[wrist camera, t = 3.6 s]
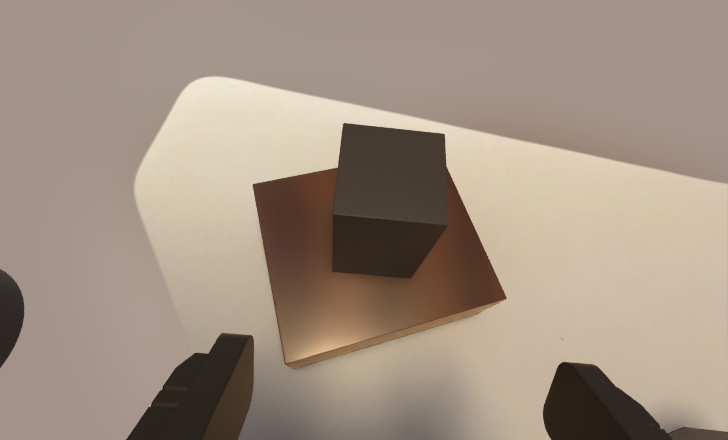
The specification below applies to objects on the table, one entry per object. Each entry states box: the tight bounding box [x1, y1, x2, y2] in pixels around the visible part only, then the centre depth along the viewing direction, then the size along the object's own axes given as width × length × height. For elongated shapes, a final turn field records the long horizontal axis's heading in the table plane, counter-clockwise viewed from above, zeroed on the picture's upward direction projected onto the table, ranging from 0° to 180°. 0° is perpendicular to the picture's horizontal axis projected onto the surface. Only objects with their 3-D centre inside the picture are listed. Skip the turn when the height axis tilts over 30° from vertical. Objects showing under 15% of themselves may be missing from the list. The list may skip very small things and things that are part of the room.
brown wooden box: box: [253, 167, 507, 369], centre depth 25 cm, size 14×12×5 cm
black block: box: [332, 123, 449, 278], centre depth 20 cm, size 5×5×8 cm
